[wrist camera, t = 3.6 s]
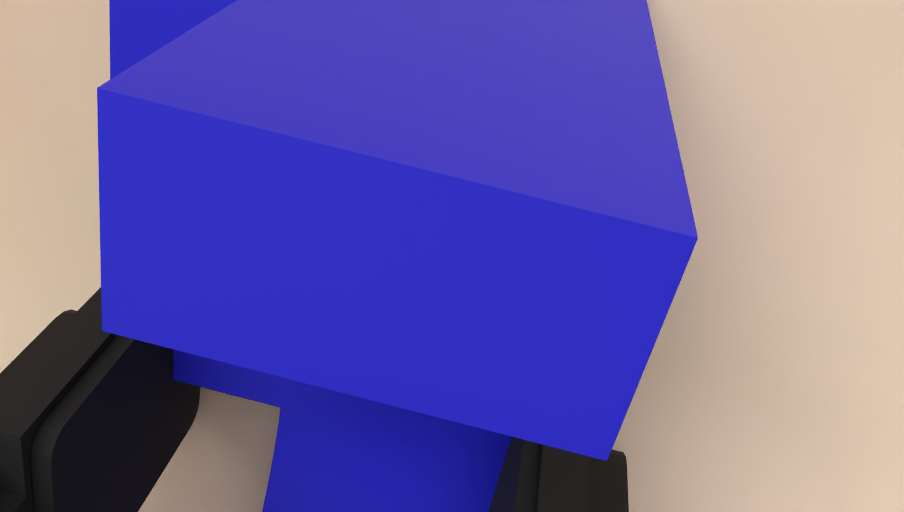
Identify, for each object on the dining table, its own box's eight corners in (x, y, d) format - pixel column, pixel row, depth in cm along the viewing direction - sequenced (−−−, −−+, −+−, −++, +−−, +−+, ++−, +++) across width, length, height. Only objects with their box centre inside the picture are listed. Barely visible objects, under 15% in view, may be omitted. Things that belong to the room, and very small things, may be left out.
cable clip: (244, -119, 9) (-196, 14, 4) (641, -23, 9) (698, 237, 4) (198, 578, 15) (-3, 979, 10) (436, 641, 15) (353, 1079, 10)
